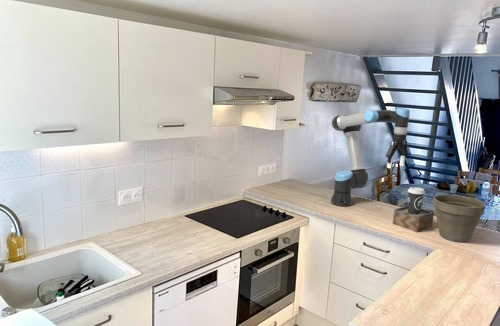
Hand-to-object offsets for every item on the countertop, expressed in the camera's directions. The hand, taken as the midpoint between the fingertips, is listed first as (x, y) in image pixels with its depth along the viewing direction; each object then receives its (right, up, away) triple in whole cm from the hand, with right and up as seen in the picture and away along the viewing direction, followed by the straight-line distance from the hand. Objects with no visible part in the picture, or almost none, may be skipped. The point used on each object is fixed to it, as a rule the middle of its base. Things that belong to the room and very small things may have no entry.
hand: (395, 166), depth 228 cm
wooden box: (+6, -35, -9) cm, 37 cm away
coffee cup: (+7, -28, -11) cm, 31 cm away
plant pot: (+22, -39, -26) cm, 52 cm away
